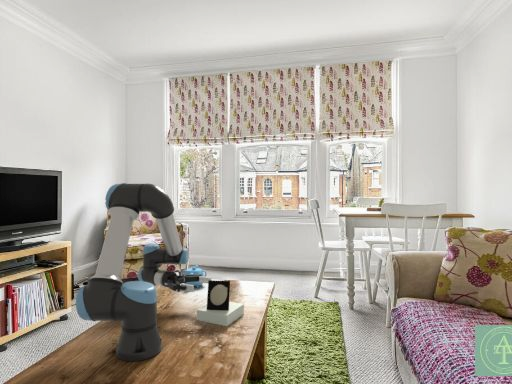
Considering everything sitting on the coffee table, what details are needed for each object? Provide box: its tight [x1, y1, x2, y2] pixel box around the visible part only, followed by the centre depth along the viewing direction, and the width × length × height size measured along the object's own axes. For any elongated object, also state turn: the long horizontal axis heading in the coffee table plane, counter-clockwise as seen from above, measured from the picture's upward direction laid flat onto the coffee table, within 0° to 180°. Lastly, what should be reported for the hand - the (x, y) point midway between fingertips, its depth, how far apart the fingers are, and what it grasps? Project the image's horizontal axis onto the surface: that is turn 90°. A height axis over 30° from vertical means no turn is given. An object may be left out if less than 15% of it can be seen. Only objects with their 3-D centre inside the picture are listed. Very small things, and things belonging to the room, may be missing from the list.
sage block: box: [196, 301, 245, 327], centre depth 147 cm, size 15×15×5 cm
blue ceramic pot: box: [181, 264, 208, 288], centre depth 194 cm, size 13×14×11 cm
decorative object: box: [206, 279, 231, 311], centre depth 146 cm, size 12×10×10 cm
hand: (202, 284), depth 150 cm, fingers open, 13 cm apart
